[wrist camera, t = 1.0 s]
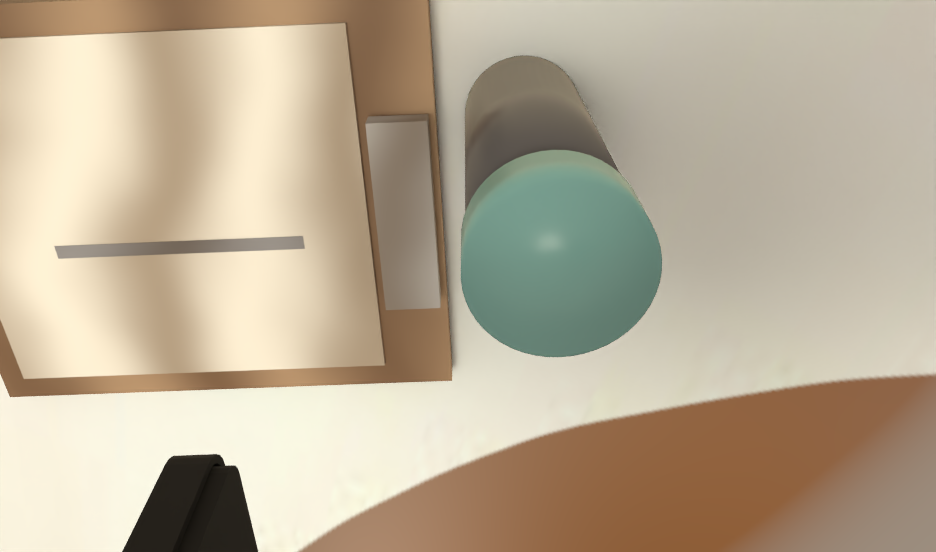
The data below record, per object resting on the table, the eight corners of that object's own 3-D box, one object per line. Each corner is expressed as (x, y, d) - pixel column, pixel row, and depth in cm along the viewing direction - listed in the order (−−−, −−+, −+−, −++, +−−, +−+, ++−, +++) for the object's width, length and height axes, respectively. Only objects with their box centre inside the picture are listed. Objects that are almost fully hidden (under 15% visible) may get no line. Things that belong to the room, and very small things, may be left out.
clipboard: (427, -20, 24) (424, -12, 22) (452, 365, 31) (451, 395, 29) (-128, 5, 24) (-174, 16, 23) (22, 382, 31) (-4, 412, 30)
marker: (584, 49, 25) (670, 175, 15) (581, 168, 27) (654, 353, 17) (459, 55, 25) (455, 183, 15) (464, 173, 27) (465, 360, 17)
